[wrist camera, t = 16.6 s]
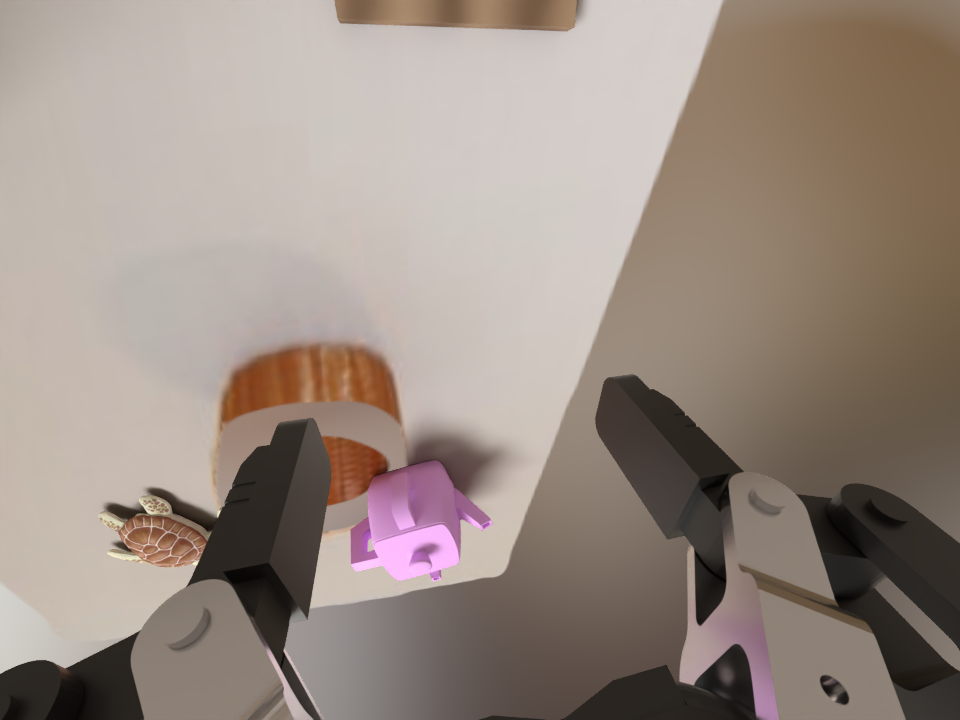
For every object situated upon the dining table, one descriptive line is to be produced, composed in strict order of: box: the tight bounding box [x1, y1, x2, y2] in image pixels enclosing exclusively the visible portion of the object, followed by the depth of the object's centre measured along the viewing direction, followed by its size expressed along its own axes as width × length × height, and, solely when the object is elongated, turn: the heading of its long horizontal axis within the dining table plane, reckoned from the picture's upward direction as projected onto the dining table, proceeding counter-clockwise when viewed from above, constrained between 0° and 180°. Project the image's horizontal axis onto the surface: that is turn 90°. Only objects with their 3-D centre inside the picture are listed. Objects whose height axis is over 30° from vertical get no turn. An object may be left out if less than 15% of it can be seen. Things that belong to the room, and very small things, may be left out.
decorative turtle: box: [98, 495, 222, 567], centre depth 50 cm, size 18×17×5 cm
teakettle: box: [351, 460, 492, 581], centre depth 53 cm, size 17×17×12 cm
